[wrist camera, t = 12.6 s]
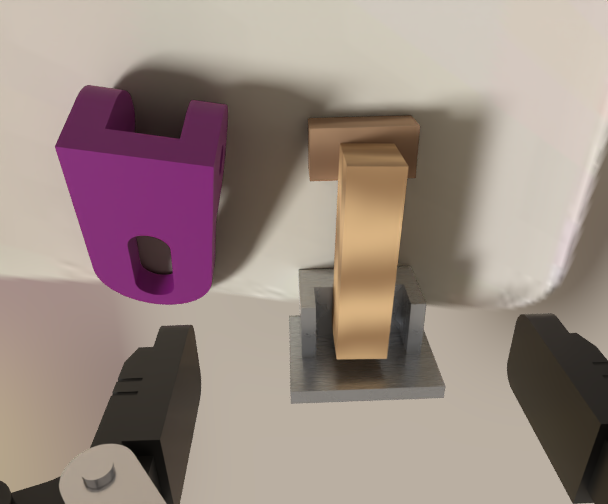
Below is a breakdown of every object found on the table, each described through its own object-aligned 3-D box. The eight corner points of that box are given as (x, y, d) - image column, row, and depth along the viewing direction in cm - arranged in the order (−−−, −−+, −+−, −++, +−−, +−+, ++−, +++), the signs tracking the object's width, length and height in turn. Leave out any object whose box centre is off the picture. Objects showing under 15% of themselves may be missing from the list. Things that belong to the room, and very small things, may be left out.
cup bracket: (287, 270, 47) (288, 340, 38) (421, 265, 47) (452, 334, 38) (289, 326, 50) (290, 403, 41) (415, 321, 50) (443, 397, 41)
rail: (340, 143, 38) (347, 166, 34) (394, 143, 39) (408, 166, 34) (331, 321, 46) (336, 359, 42) (376, 321, 46) (386, 358, 42)
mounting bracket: (222, 234, 52) (230, 81, 37) (211, 309, 47) (214, 167, 32) (124, 222, 51) (92, 61, 36) (101, 298, 46) (54, 146, 31)
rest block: (307, 118, 40) (309, 128, 38) (411, 115, 41) (420, 125, 38) (308, 167, 42) (310, 181, 40) (407, 164, 43) (415, 178, 40)
